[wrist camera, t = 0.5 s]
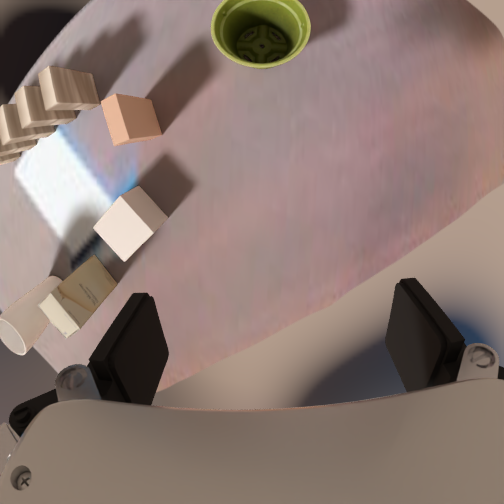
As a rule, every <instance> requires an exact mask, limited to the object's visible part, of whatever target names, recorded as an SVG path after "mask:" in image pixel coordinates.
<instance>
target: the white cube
mask: <svg viewBox="0 0 504 504" xmlns="http://www.w3.org/2000/svg"><path fill="white" fill-rule="evenodd" d="M167 219H168V217H167V216H166V215H165V214H164V212H163V211H162V210H161V209H160V208H159V207H158V206H157V205H156V204H155V203H154V201H153V200H152V199H151V198H150V197H149V196H148V195H147V194H146V193H145V192H144V190H143V189H142V188H141V187H140V186H137V187H135V188H133V189H131V190H130V191H128V192H126V193H124V194H122V195H121V196H119V198H118V199H117V200H116V201H115V202H114V203H113V204H112V206H111V207H110V208H109V209H108V210H107V211H106V213H105V214H104V215H103V216H102V217H101V219H100V220H99V221H98V222H97V223H96V225H95V226H94V227H93V229H94V230H95V231H96V232H97V233H98V234H99V235H100V236H101V237H102V239H103V240H104V241H105V242H106V243H107V244H108V245H109V246H110V247H111V248H112V249H113V251H114V252H115V253H116V254H117V255H118V256H119V257H120V258H121V259H122V260H123V261H124V262H125V261H126V260H127V259H128V258H129V257H130V256H131V255H132V254H133V253H134V252H135V251H136V250H137V249H138V248H139V247H140V246H141V245H142V244H143V243H144V242H145V241H146V240H147V239H148V238H149V237H150V236H151V235H152V234H153V233H154V232H155V231H156V230H157V229H158V228H159V227H160V226H161V225H162V224H163V223H164V222H165V221H166V220H167Z"/></svg>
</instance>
